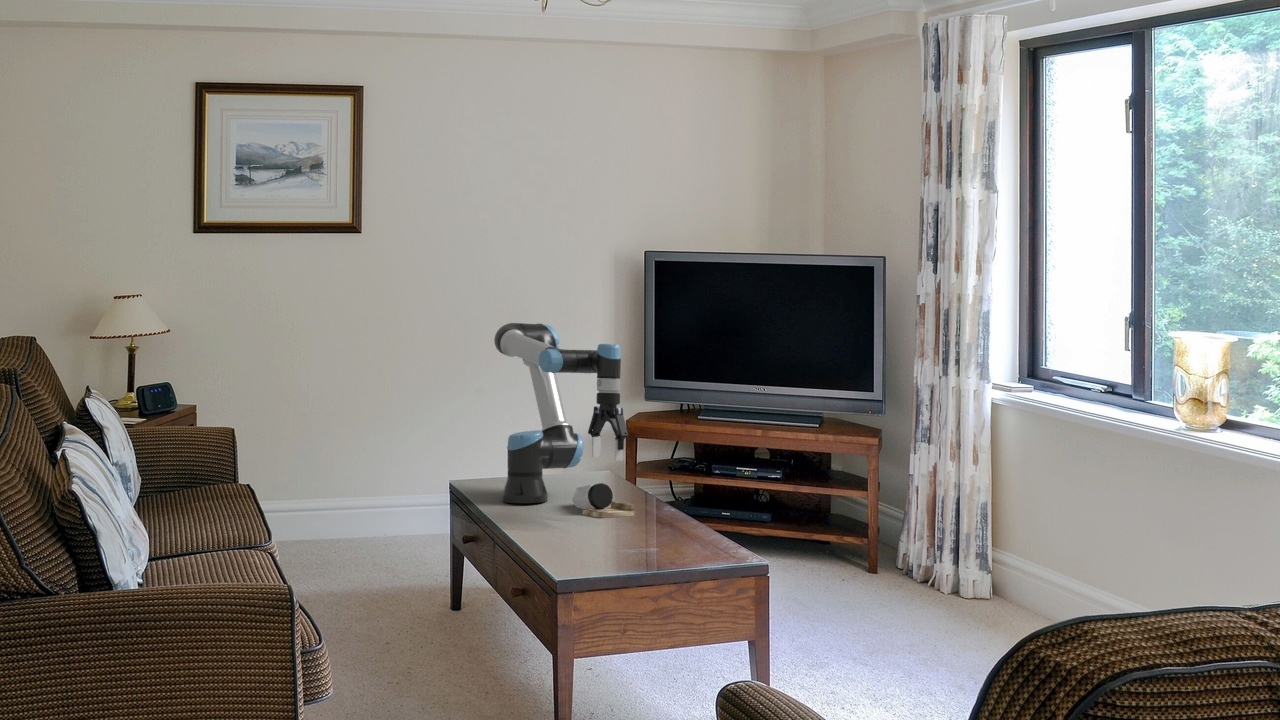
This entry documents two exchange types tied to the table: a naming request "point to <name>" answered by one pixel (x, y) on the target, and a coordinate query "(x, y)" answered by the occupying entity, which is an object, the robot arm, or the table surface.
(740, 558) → the table surface
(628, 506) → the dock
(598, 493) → the jar
